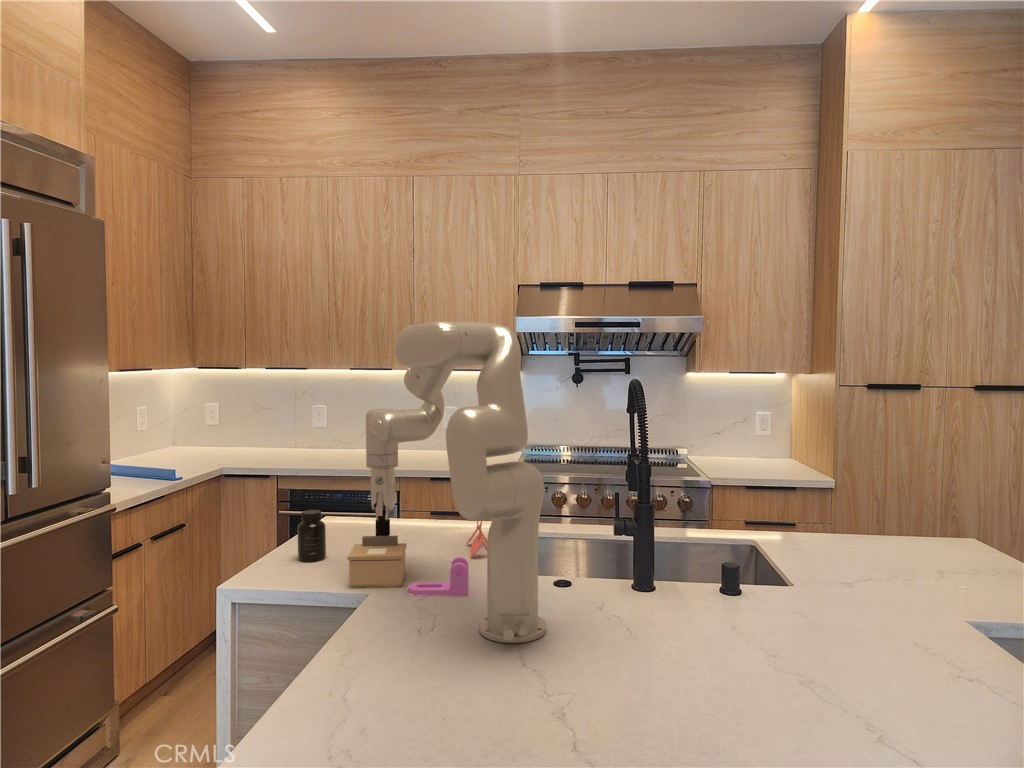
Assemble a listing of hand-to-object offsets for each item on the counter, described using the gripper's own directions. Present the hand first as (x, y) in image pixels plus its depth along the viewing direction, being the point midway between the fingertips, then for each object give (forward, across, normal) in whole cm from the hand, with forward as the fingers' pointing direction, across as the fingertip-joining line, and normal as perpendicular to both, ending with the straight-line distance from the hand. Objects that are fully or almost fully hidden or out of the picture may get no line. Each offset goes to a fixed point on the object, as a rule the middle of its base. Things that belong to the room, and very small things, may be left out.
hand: (382, 536), depth 165 cm
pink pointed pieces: (+8, +13, -19) cm, 25 cm away
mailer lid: (+2, -9, 0) cm, 9 cm away
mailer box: (+8, -9, 0) cm, 12 cm away
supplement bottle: (+8, +9, +19) cm, 23 cm away
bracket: (+8, -17, -14) cm, 23 cm away
